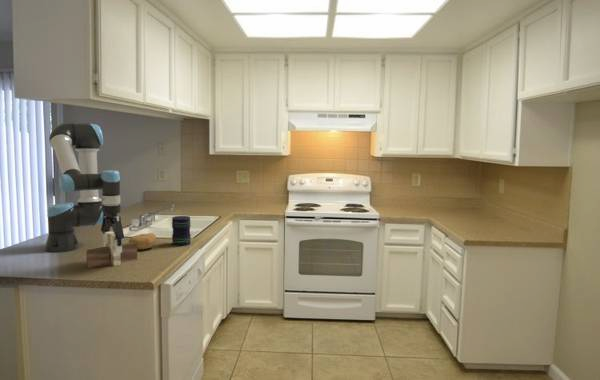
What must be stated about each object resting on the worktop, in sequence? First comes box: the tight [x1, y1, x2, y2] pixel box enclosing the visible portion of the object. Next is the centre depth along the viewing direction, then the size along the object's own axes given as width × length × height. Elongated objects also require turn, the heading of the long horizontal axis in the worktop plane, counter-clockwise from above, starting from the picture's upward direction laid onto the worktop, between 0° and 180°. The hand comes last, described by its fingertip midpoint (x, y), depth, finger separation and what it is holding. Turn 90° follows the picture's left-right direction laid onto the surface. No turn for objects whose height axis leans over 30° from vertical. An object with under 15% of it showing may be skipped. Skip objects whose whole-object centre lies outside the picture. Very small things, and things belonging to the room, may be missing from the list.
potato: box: [128, 232, 157, 251], centre depth 213 cm, size 10×14×8 cm
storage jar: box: [171, 215, 192, 247], centre depth 225 cm, size 10×10×15 cm
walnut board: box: [85, 242, 138, 269], centre depth 189 cm, size 2×22×8 cm, turn 136°
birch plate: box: [105, 230, 122, 267], centre depth 188 cm, size 10×3×14 cm, turn 46°
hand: (112, 249), depth 188 cm, fingers open, 13 cm apart
